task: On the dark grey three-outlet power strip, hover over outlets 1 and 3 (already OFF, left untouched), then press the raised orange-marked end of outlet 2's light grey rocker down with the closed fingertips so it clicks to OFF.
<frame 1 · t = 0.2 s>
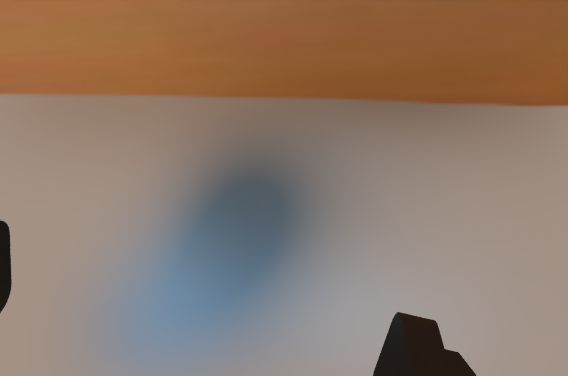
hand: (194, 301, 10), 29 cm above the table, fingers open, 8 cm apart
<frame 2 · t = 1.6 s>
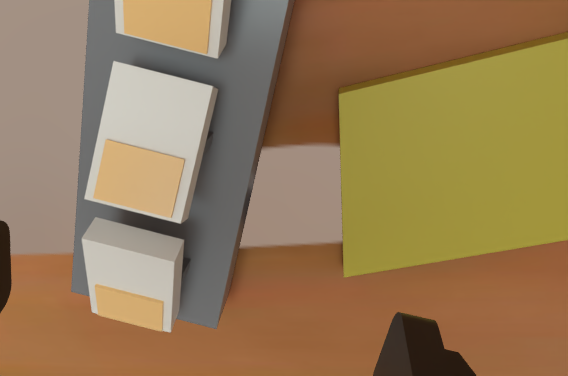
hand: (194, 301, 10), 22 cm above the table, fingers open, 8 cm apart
rocker 3: (134, 279, 29), point 7 cm above the table, hinge at 18.0°
power strip: (189, 110, 31), on the table
rocker 2: (151, 143, 25), point 7 cm above the table, hinge at -18.0°
flat olive board: (511, 143, 31), on the table
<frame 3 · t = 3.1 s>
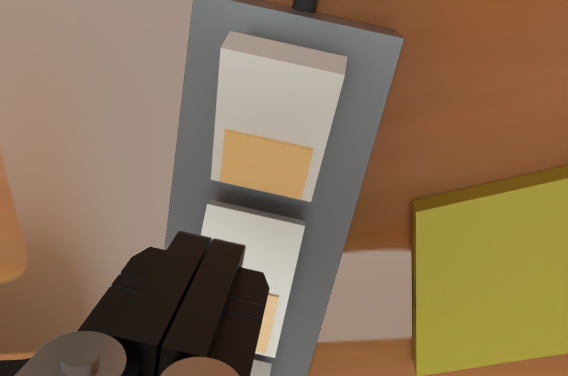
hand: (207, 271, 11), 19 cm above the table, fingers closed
rocker 1: (273, 124, 22), point 7 cm above the table, hinge at 18.0°
power strip: (261, 219, 32), on the table
rocker 2: (243, 278, 26), point 7 cm above the table, hinge at -18.0°
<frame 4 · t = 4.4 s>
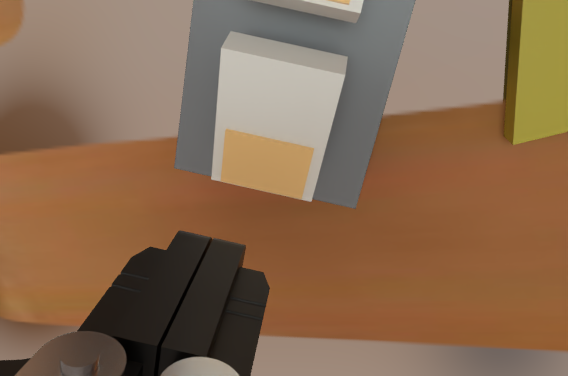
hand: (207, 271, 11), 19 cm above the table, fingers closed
rocker 3: (273, 124, 22), point 7 cm above the table, hinge at 18.0°
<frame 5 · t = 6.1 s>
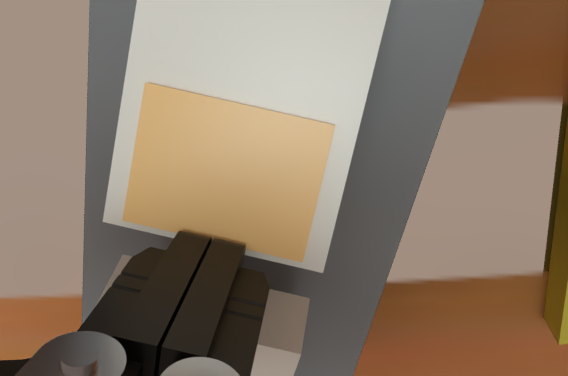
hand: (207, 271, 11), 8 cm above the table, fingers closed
rocker 3: (201, 370, 15), point 7 cm above the table, hinge at 18.0°
power strip: (283, 44, 17), on the table
rocker 2: (248, 89, 11), point 7 cm above the table, hinge at -14.4°, touching gripper
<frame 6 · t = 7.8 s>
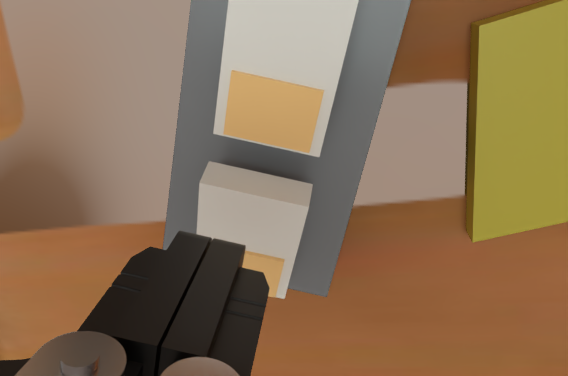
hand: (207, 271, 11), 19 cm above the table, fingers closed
rocker 3: (248, 236, 25), point 7 cm above the table, hinge at 18.0°
power strip: (294, 47, 28), on the table
rocker 2: (281, 67, 22), point 7 cm above the table, hinge at 8.8°
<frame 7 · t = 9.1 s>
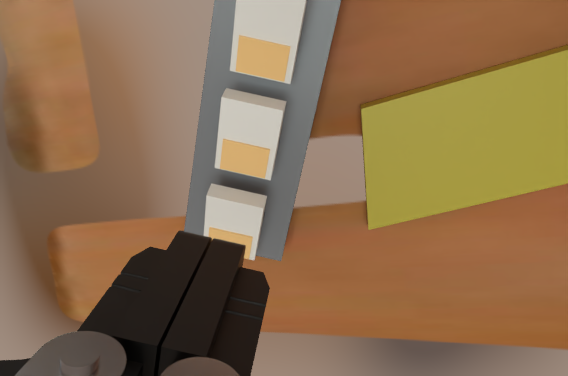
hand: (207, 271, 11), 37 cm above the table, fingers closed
rocker 1: (267, 33, 38), point 7 cm above the table, hinge at 18.0°
rocker 3: (233, 224, 45), point 7 cm above the table, hinge at 18.0°
power strip: (260, 115, 48), on the table
rocker 2: (248, 136, 42), point 7 cm above the table, hinge at 14.3°
flat olive board: (475, 134, 47), on the table
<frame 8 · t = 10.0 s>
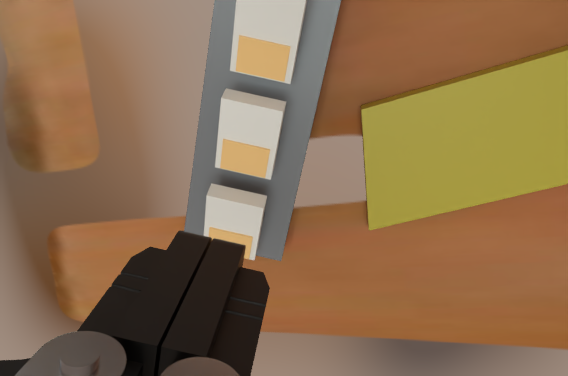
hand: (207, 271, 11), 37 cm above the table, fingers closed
rocker 1: (267, 33, 38), point 7 cm above the table, hinge at 18.0°
rocker 3: (233, 224, 45), point 7 cm above the table, hinge at 18.0°
power strip: (260, 115, 48), on the table
rocker 2: (249, 136, 42), point 7 cm above the table, hinge at 16.1°
flat olive board: (475, 135, 47), on the table
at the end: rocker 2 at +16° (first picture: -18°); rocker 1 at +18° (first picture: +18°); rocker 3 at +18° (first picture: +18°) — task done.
